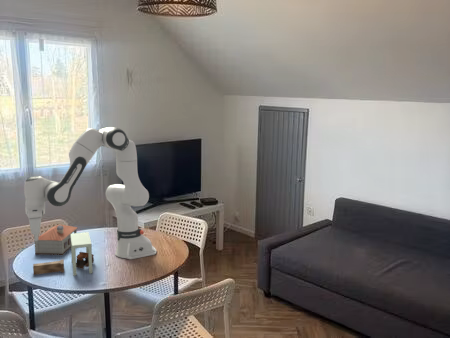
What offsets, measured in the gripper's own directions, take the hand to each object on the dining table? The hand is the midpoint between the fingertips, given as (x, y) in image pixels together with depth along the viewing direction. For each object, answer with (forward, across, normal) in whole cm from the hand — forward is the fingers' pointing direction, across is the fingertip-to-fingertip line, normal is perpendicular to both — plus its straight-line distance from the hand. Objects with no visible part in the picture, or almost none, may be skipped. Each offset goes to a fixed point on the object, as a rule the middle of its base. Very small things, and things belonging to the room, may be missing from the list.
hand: (36, 237), depth 206 cm
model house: (+18, -35, +9) cm, 40 cm away
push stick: (+18, 0, +5) cm, 19 cm away
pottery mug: (+19, 0, +21) cm, 29 cm away
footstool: (+18, 0, +20) cm, 27 cm away
